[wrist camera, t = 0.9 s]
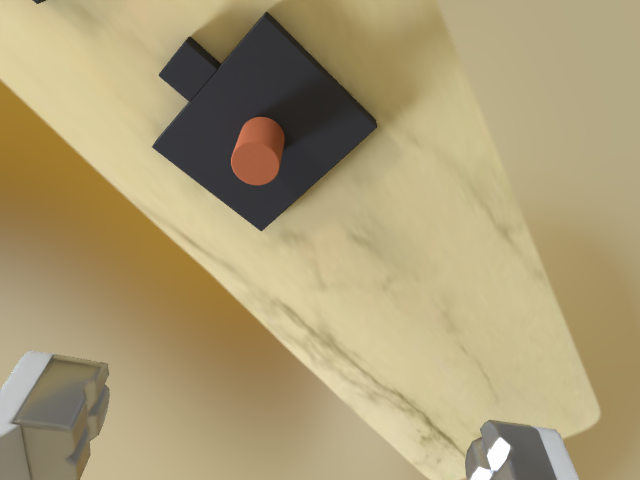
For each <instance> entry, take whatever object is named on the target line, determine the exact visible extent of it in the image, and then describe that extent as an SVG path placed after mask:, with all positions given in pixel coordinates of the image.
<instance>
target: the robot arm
mask: <svg viewBox="0 0 640 480" xmlns="http://www.w3.org/2000/svg"><path fill="white" fill-rule="evenodd" d="M108 375H109V370H108V364H106V363H102V362H96V361H91V360H85V359H79V358H74V357H68V356H62V355H57V354H50V353H44V352H38V351H32V350H30V351H28V352H27V353H26V354H25V355H23V356H22V358H21V359H20V361H19V362H18V364H17V365H16V367H15V368H14V370H13V371H12V373H11V374H10V376H9V377H8V379H7V381H6V382H5V383H4V385H3V387H2V388H1V390H0V480H80V478H81V476H82V473H83V471H84V469H85V466H86V464H87V462H88V459H89V457H90V441H91V440H92V439H93V438H95V437H96V436H97V435H99V433H100V431H101V428H102V426H103V423H104V420H105V416H106V413H107V409H108V404H109V388H108V387H107V386H106V385H105V382H106V380H107V378H108ZM480 431H481V434H482V437H480V438H478V439H476V440H474V441H472V443H471V445H470V447H469V449H468V450H467V455H466V461H465V468H466V476H467V480H579V477H578V475H577V473H576V470H575V468H574V466H573V463H572V461H571V459H570V457H569V454H568V452H567V449H566V447H565V445H564V442H563V440H562V438H561V436H560V434H559V433H558V432H557V431H556V430H554V429H548V428H541V427H535V426H530V425H524V424H517V423H509V422H502V421H495V420H489V421H487V422H485V423H484V424H483V426H482V427H481V429H480Z"/></svg>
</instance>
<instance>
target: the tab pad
mask: <svg viewBox="0 0 640 480" xmlns="http://www.w3.org/2000/svg"><path fill="white" fill-rule="evenodd" d="M159 77H161V78H162V79H163V80H164V81H165V82H167V83H168V84H169V85H170V86H171V87H173V88H174V89H175V90H176V91H177V92H179V93H180V94H181V95H182V96H183V97H184V98H186V99H187V100H188V101H189V102H188V104H187V105H186V106H185V107H184V108H183V110H182V111H181V112H180V113H179V114H178V115H177V117H176V118H175V119H174V120H173V121H172V122H171V124H170V125H169V126H168V127H167V128H166V129H165V131H164V132H163V133H162V134H161V135H160V136H159V138H158V139H157V140H156V141H155V143H154V144H153V146H152V148H154V149H155V150H156V151H158V152H159V153H160V154H161V155H163V156H164V157H165V158H167V159H168V160H169V161H170V162H172V163H173V164H174V165H176V166H177V167H178V168H180V169H181V170H182V171H183V172H185V173H186V174H187V175H189V176H190V177H191V178H193V179H194V180H195V181H196V182H198V183H199V184H200V185H202V186H203V187H204V188H206V189H207V190H208V191H209V192H211V193H212V194H213V195H215V196H216V197H217V198H218V199H220V200H221V201H222V202H224V203H225V204H226V205H228V206H229V207H230V208H231V209H233V210H234V211H235V212H237V213H238V214H239V215H241V216H242V217H243V218H244V219H246V220H247V221H248V222H250V223H251V224H252V225H254V226H255V227H256V228H257V229H259V230H260V231H262V230H263V229H265V228H266V227H267V226H268V225H269V224H270V223H271V222H272V221H273V220H275V219H276V218H277V217H278V216H279V215H280V214H281V213H282V212H283V211H285V210H286V209H287V208H288V207H289V206H290V205H291V204H292V203H294V202H295V201H296V200H297V199H298V198H299V197H300V196H301V195H302V194H304V193H305V192H306V191H307V190H308V189H309V188H310V187H311V186H312V185H314V184H315V183H316V182H317V181H318V180H319V179H320V178H321V177H322V176H324V175H325V174H326V173H327V172H328V171H329V170H330V169H331V168H332V167H334V166H335V165H336V164H337V163H338V162H339V161H340V160H341V159H342V158H344V157H345V156H346V155H347V154H348V153H349V152H350V151H351V150H352V149H354V148H355V147H356V146H357V145H358V144H359V143H360V142H361V141H363V140H364V139H365V138H366V137H367V136H368V135H369V134H370V133H371V132H373V131H374V130H375V129H376V128H377V123H376V120H375V119H374V118H373V117H372V116H371V115H370V114H369V113H368V112H367V111H366V110H365V109H364V108H363V107H362V106H361V105H360V104H359V103H358V102H357V101H356V100H355V99H354V98H353V97H352V96H351V95H350V94H349V93H348V92H347V91H346V90H345V89H344V88H343V87H342V86H341V85H340V84H339V83H338V82H337V81H336V80H335V79H334V78H333V77H332V76H331V75H330V74H329V73H328V72H327V71H326V70H325V69H324V68H323V67H322V66H321V65H320V64H319V63H318V62H317V61H316V60H315V59H314V58H313V57H312V56H311V55H310V54H309V53H308V52H307V51H306V50H305V49H304V48H303V47H302V46H301V45H300V44H299V43H298V42H297V41H296V40H295V39H294V38H293V37H292V36H291V35H290V34H289V33H288V32H287V31H286V30H285V29H284V28H283V27H282V26H281V25H280V24H279V23H278V22H277V21H276V20H275V19H274V18H273V17H272V16H271V15H270V14H269V13H268V12H265V13H264V15H263V16H262V17H261V18H260V19H259V21H258V22H257V23H256V24H255V25H254V26H253V28H252V29H251V30H250V31H249V32H248V33H247V35H246V36H245V37H244V38H243V39H242V40H241V42H240V43H239V44H238V45H237V46H236V47H235V49H234V50H233V51H232V52H231V53H230V54H229V56H228V57H227V58H226V59H225V60H224V61H223V63H222V64H220V63H219V62H218V61H217V60H216V59H215V58H213V57H212V56H211V55H210V54H209V53H208V52H207V51H206V50H205V49H203V48H202V47H201V46H200V45H199V44H198V43H197V42H196V41H195V40H194V39H192V38H191V37H188V39H187V40H186V41H185V42H184V43H183V44H182V46H181V47H180V48H179V50H178V51H177V52H176V53H175V55H174V56H173V57H172V58H171V60H170V61H169V62H168V63H167V65H166V66H165V67H164V68H163V70H162V71H161V72H160V74H159Z"/></svg>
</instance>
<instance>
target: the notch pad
mask: <svg viewBox="0 0 640 480" xmlns="http://www.w3.org/2000/svg"><path fill="white" fill-rule="evenodd" d="M33 1H34V2H35V3H37V4H39V3H41V2H43V1H46V0H33Z"/></svg>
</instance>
